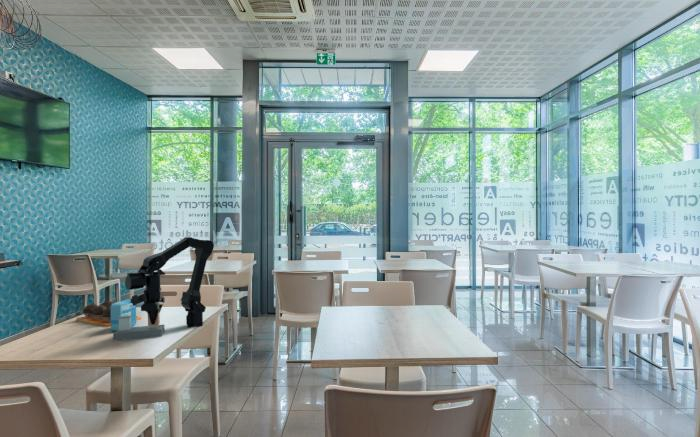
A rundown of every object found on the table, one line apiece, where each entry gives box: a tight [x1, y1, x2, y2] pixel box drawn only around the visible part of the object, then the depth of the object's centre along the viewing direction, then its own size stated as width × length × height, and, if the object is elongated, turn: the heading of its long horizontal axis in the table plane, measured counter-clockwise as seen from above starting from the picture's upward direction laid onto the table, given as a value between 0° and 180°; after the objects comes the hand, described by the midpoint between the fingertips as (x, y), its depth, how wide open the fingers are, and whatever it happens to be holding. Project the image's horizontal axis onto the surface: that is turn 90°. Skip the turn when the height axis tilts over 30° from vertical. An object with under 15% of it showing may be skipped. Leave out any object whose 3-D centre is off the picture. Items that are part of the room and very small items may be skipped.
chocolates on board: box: [75, 300, 143, 328], centre depth 208 cm, size 28×17×8 cm, turn 58°
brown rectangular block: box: [146, 310, 161, 329], centre depth 179 cm, size 4×3×8 cm
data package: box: [110, 299, 137, 332], centre depth 191 cm, size 12×4×12 cm, turn 175°
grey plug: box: [118, 315, 131, 331], centre depth 176 cm, size 4×3×8 cm
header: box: [112, 324, 165, 341], centre depth 177 cm, size 18×8×3 cm, turn 105°
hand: (153, 323), depth 179 cm, fingers closed on brown rectangular block, 3 cm apart
